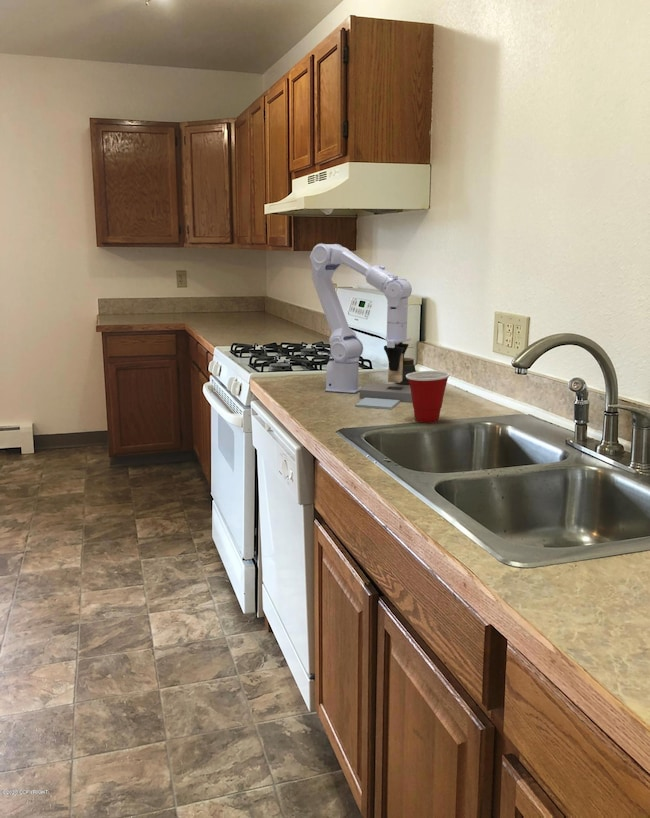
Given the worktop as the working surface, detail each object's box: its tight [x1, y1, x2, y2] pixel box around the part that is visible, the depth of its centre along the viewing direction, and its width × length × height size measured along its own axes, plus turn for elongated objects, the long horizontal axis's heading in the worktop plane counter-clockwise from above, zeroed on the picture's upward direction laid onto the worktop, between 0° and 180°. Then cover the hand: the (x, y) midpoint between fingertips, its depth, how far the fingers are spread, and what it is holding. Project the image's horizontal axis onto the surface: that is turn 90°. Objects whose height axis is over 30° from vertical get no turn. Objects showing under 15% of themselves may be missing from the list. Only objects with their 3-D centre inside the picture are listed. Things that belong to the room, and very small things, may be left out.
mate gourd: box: [397, 357, 417, 385], centre depth 227 cm, size 7×8×10 cm
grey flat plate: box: [358, 382, 412, 403], centre depth 207 cm, size 18×12×2 cm, turn 71°
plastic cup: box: [406, 370, 450, 424], centre depth 178 cm, size 11×11×12 cm
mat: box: [355, 398, 401, 410], centre depth 197 cm, size 10×10×1 cm
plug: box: [387, 354, 403, 384], centre depth 206 cm, size 3×3×8 cm
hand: (395, 369), depth 206 cm, fingers closed on plug, 3 cm apart
